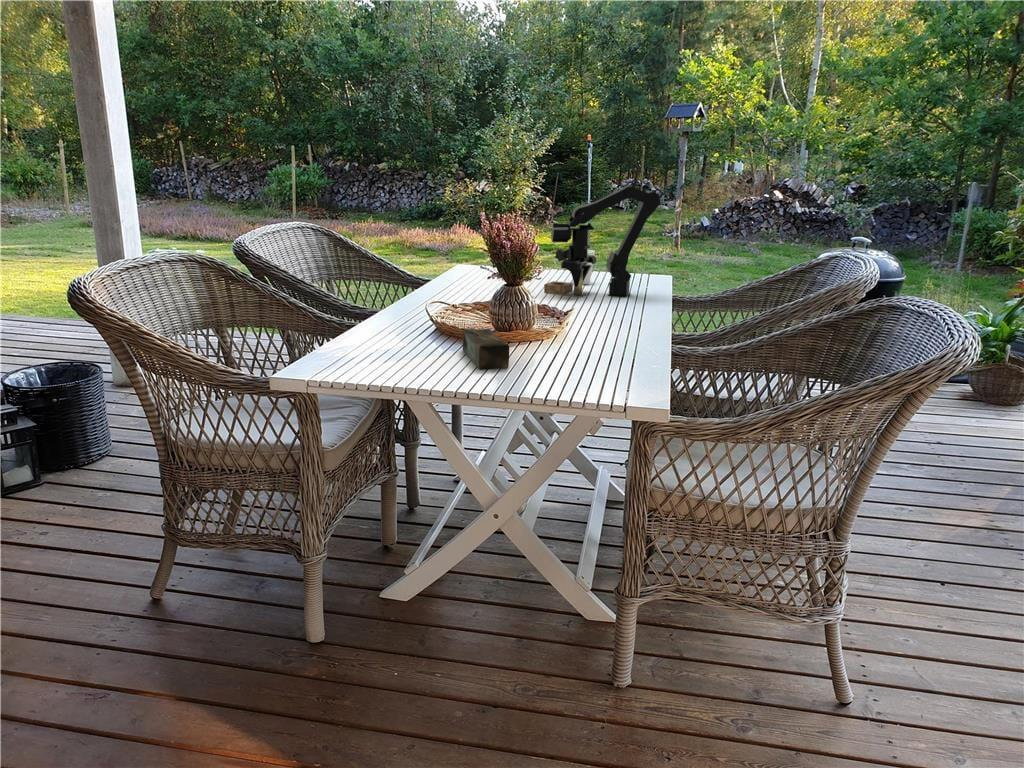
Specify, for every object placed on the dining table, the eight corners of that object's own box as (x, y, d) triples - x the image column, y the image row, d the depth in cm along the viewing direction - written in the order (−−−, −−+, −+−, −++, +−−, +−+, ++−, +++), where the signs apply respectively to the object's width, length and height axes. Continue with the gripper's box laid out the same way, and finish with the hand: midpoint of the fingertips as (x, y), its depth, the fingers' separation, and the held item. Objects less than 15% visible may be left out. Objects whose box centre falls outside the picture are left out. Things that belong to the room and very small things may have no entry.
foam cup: (565, 282, 301) (566, 250, 297) (585, 281, 305) (586, 248, 301) (577, 286, 293) (578, 253, 289) (597, 285, 297) (599, 252, 293)
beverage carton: (490, 349, 202) (490, 325, 200) (510, 369, 184) (510, 343, 182) (461, 351, 200) (461, 327, 198) (478, 371, 182) (479, 345, 180)
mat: (589, 295, 276) (589, 294, 276) (581, 298, 270) (581, 297, 270) (571, 293, 279) (571, 292, 279) (563, 296, 273) (563, 295, 273)
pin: (583, 294, 275) (584, 267, 272) (579, 296, 272) (581, 268, 269) (575, 294, 276) (576, 267, 273) (572, 295, 274) (573, 268, 271)
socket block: (572, 292, 281) (572, 283, 280) (563, 295, 274) (564, 286, 273) (553, 290, 285) (553, 281, 284) (544, 293, 278) (544, 284, 277)
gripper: (569, 238, 280) (568, 279, 285) (548, 243, 264) (547, 287, 269) (597, 240, 275) (595, 282, 280) (577, 245, 259) (575, 290, 264)
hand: (578, 285), depth 273 cm, fingers open, 3 cm apart
